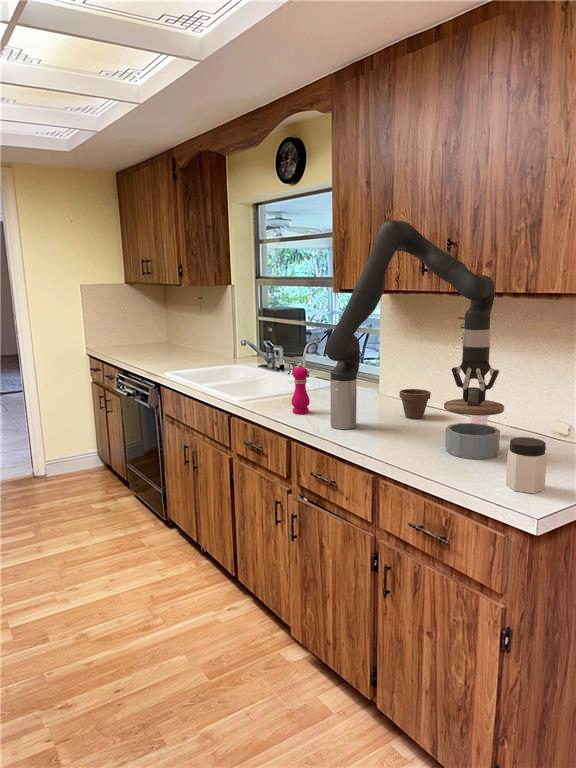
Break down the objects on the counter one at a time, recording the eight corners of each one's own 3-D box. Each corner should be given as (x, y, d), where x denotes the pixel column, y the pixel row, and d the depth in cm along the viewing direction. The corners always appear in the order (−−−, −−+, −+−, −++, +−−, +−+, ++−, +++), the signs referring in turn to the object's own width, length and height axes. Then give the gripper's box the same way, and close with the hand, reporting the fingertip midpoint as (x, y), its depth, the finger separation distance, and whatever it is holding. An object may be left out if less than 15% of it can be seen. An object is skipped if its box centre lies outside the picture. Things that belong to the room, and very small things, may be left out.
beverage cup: (489, 438, 186) (492, 396, 183) (470, 437, 187) (472, 395, 184) (486, 433, 192) (488, 392, 189) (468, 432, 193) (469, 392, 190)
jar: (529, 496, 136) (532, 448, 134) (500, 486, 143) (502, 440, 141) (550, 488, 141) (553, 441, 139) (520, 479, 148) (523, 434, 146)
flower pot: (417, 412, 222) (418, 387, 221) (436, 418, 212) (437, 392, 210) (392, 415, 218) (393, 390, 216) (410, 422, 208) (411, 395, 206)
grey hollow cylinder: (440, 444, 179) (441, 423, 178) (488, 444, 179) (489, 422, 178) (453, 459, 164) (454, 436, 163) (505, 459, 164) (506, 435, 163)
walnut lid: (437, 403, 178) (438, 383, 176) (491, 402, 178) (492, 382, 176) (453, 416, 161) (454, 394, 160) (513, 414, 161) (514, 393, 160)
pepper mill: (299, 415, 220) (298, 364, 217) (288, 412, 226) (287, 362, 222) (313, 412, 224) (313, 363, 221) (302, 409, 230) (301, 361, 227)
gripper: (504, 344, 165) (501, 401, 169) (455, 342, 173) (453, 397, 176) (499, 347, 159) (496, 406, 162) (448, 345, 166) (446, 402, 169)
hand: (473, 401), depth 169 cm, fingers closed on walnut lid, 3 cm apart
